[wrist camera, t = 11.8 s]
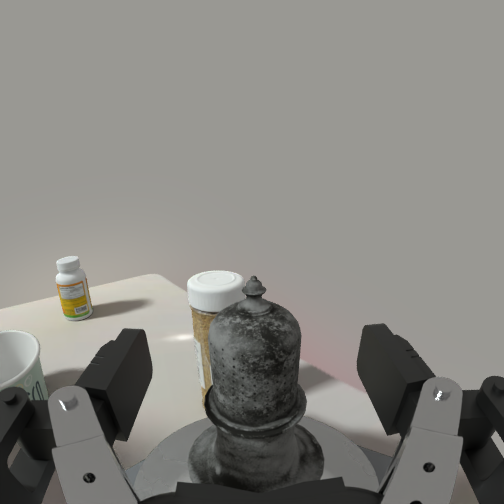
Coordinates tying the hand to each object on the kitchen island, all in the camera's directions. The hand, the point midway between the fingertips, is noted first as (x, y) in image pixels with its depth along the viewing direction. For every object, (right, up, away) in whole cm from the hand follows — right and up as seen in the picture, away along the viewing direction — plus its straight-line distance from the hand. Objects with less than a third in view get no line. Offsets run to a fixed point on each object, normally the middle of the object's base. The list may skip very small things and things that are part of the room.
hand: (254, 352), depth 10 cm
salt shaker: (0, -9, +1) cm, 9 cm away
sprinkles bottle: (-3, -12, +17) cm, 21 cm away
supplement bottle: (-29, -7, +34) cm, 45 cm away
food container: (-26, -14, +12) cm, 32 cm away
